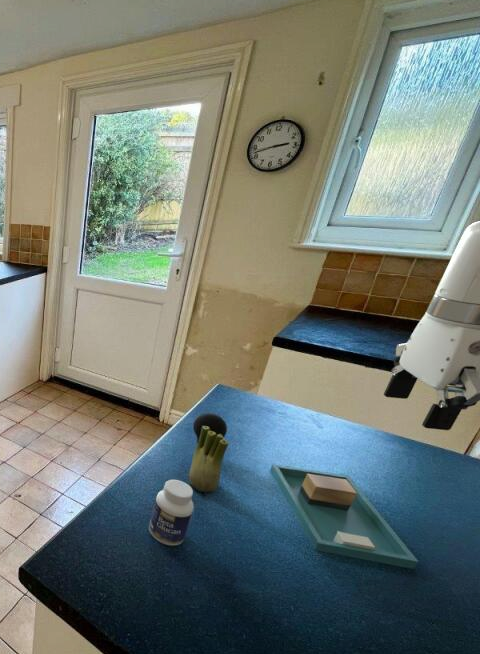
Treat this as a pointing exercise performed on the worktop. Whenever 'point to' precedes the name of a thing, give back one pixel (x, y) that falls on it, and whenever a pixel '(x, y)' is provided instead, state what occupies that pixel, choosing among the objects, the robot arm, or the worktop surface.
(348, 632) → the worktop surface
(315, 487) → the eraser
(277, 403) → the worktop surface
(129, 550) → the worktop surface
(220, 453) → the fennel bulb
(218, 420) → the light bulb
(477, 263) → the robot arm
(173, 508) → the pill bottle
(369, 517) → the tray
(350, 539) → the chalk
